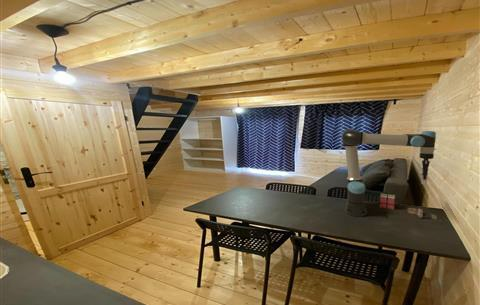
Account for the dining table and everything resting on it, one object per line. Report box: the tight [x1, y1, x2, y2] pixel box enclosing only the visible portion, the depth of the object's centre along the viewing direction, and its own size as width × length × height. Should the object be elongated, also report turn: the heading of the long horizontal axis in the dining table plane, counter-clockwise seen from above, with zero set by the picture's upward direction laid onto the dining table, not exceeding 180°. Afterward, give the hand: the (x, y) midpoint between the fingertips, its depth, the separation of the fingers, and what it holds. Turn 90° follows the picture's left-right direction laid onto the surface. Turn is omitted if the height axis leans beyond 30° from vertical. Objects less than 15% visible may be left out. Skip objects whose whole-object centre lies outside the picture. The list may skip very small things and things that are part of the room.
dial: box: [406, 207, 424, 219], centre depth 152 cm, size 14×9×6 cm, turn 160°
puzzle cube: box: [378, 192, 396, 210], centre depth 168 cm, size 10×10×10 cm
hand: (423, 181), depth 152 cm, fingers open, 13 cm apart
